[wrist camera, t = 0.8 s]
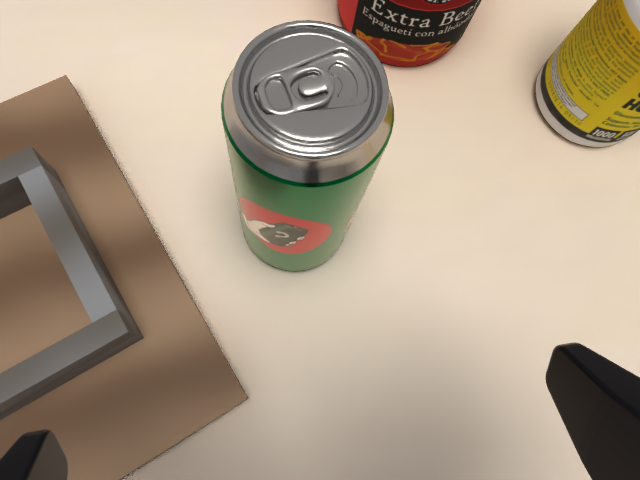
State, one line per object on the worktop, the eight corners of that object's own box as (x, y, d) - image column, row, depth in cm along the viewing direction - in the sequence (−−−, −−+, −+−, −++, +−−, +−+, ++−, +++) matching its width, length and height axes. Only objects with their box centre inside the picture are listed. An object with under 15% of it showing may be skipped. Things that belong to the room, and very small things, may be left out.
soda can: (359, 255, 25) (431, 141, 14) (261, 287, 24) (250, 194, 13) (324, 165, 26) (364, -9, 15) (229, 193, 25) (194, 30, 14)
